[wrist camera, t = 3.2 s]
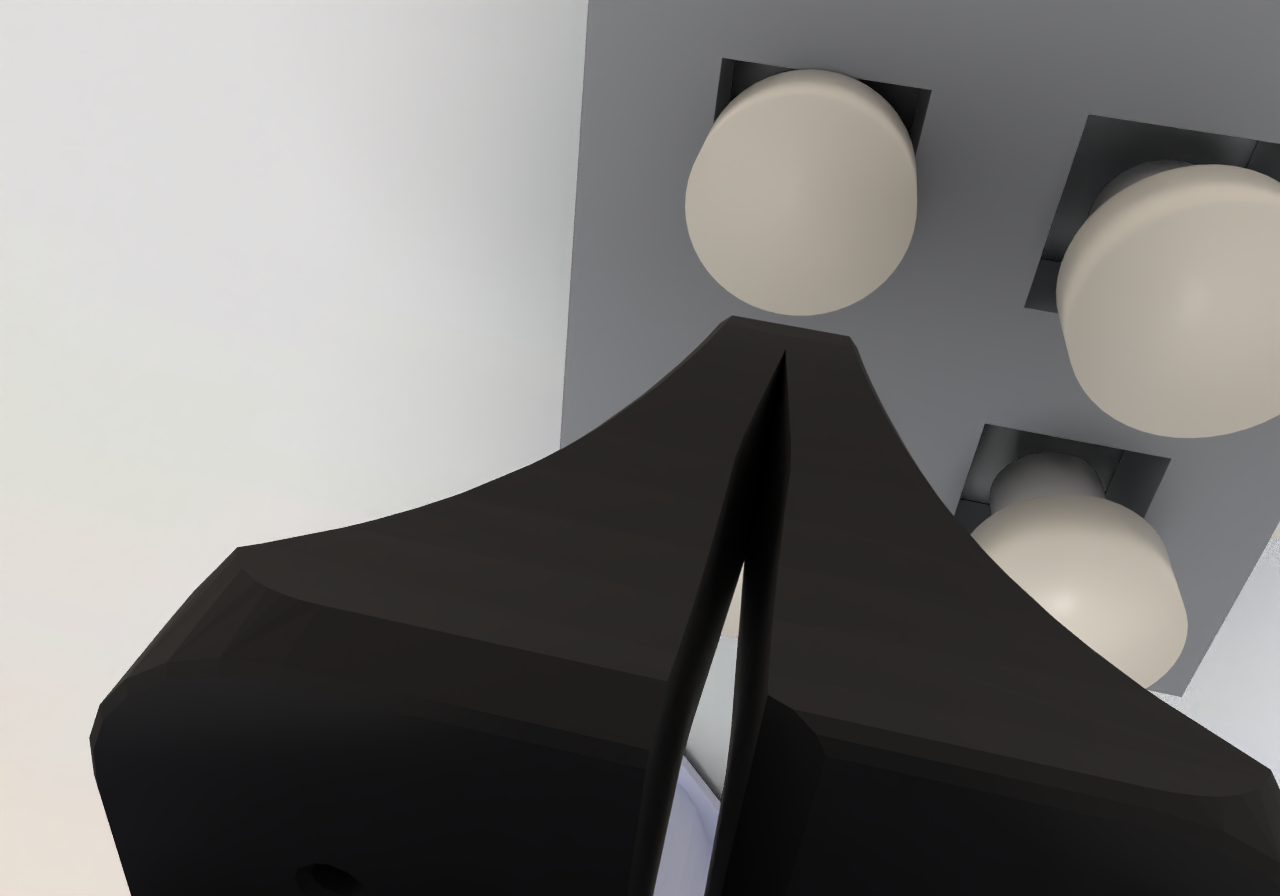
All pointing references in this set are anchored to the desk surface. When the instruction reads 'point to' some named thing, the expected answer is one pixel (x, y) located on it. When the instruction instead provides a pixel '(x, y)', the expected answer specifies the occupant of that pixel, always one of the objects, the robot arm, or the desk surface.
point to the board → (932, 229)
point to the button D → (1177, 299)
